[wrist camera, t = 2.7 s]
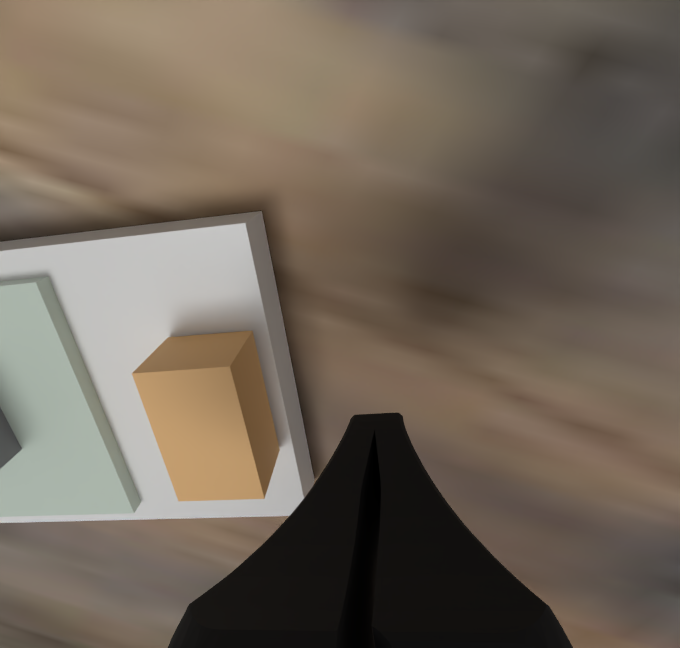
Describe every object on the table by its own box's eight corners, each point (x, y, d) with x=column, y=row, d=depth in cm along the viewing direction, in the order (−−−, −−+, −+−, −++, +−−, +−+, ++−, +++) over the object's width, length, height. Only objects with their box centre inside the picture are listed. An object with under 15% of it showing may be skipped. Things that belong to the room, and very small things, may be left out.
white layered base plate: (261, 210, 15) (245, 222, 13) (314, 479, 20) (307, 515, 18) (-178, 262, 17) (-243, 278, 16) (-36, 491, 22) (-73, 524, 20)
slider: (252, 330, 15) (229, 366, 13) (279, 449, 17) (264, 498, 15) (167, 337, 15) (131, 373, 13) (204, 453, 17) (178, 501, 15)
